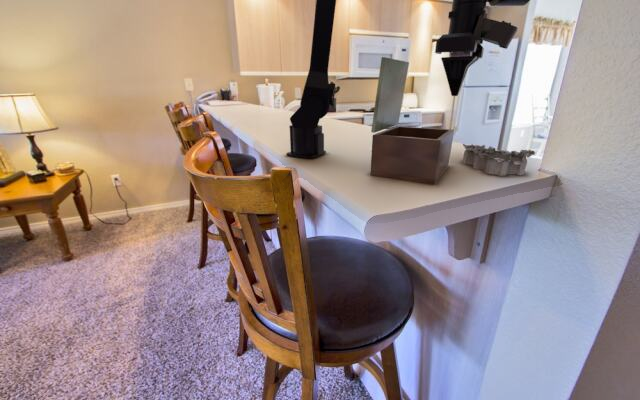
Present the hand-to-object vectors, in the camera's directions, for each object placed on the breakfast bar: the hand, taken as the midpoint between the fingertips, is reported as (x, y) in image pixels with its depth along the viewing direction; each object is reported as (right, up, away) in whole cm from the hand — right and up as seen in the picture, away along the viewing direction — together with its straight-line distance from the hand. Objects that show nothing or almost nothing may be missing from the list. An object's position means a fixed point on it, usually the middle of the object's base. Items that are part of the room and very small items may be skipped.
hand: (454, 95), depth 60 cm
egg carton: (+4, -16, -6) cm, 17 cm away
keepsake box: (-11, -16, -8) cm, 21 cm away
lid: (-15, -4, -10) cm, 19 cm away
